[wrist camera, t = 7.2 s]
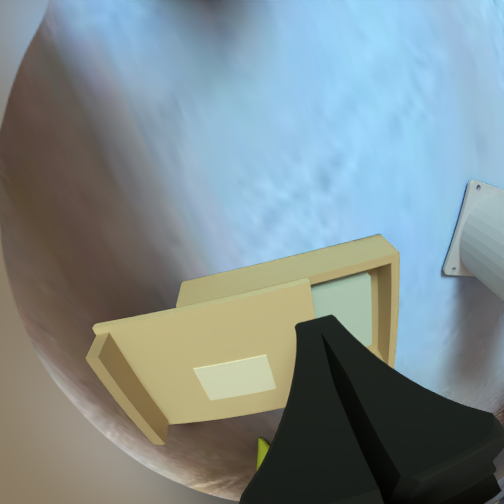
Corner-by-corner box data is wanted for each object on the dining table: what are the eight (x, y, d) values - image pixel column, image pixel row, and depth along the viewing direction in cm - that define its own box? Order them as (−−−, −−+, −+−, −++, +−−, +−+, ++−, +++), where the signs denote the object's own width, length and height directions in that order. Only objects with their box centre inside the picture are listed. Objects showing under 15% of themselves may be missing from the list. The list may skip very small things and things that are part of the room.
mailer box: (380, 233, 21) (399, 252, 18) (381, 347, 25) (393, 370, 22) (182, 282, 21) (175, 307, 18) (226, 385, 26) (226, 412, 23)
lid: (307, 277, 18) (320, 305, 15) (324, 392, 23) (333, 420, 20) (94, 324, 19) (80, 352, 16) (160, 420, 23) (156, 447, 21)
